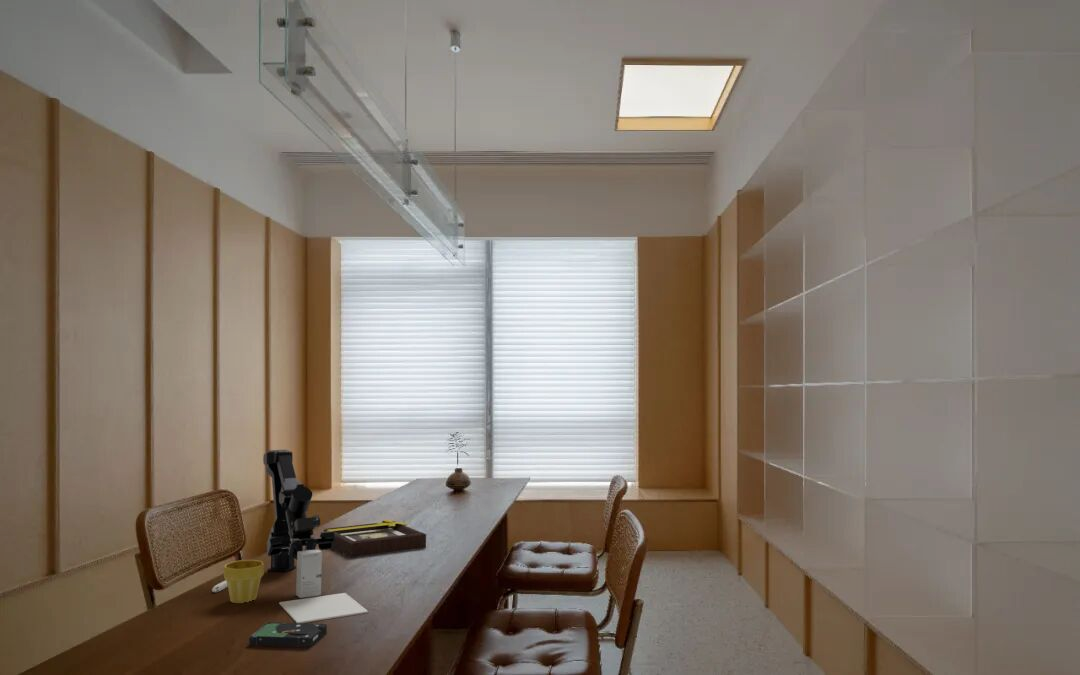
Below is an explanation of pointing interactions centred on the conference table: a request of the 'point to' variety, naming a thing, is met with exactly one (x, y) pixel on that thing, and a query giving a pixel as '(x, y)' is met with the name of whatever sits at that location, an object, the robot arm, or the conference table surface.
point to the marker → (220, 586)
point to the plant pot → (243, 579)
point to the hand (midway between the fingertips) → (306, 568)
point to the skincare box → (309, 573)
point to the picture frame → (377, 538)
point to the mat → (322, 608)
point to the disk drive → (288, 634)
